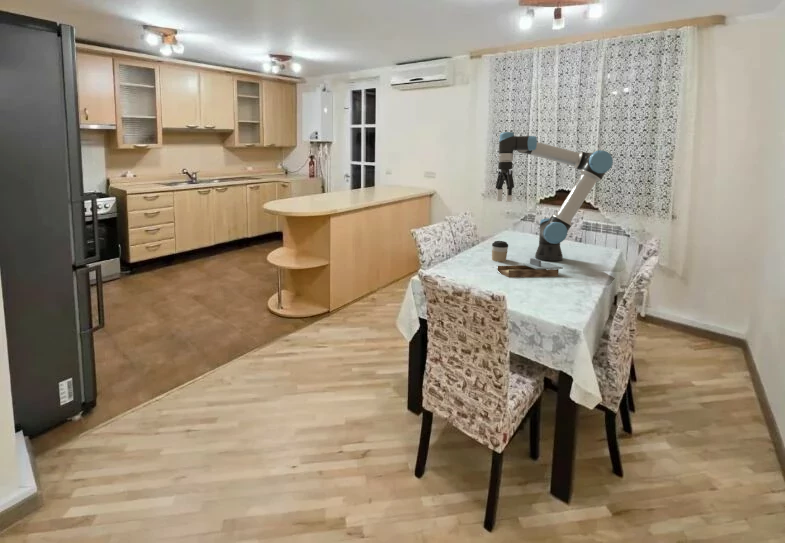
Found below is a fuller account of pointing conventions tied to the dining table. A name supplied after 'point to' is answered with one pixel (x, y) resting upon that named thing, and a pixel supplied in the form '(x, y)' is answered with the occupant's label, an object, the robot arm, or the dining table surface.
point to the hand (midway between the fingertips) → (503, 201)
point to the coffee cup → (499, 251)
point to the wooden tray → (526, 271)
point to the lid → (541, 265)
